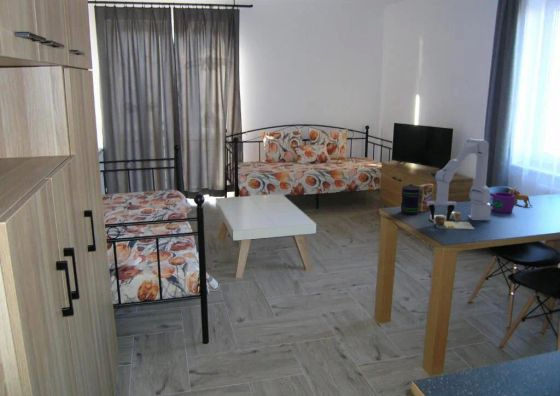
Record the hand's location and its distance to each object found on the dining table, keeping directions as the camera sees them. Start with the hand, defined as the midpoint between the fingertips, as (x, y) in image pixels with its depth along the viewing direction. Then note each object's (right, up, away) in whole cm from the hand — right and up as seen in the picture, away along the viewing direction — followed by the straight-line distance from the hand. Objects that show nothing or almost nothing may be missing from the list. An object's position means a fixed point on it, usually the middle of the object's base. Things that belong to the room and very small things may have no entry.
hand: (440, 219), depth 243 cm
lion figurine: (+60, +7, +39) cm, 72 cm away
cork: (+12, -1, +7) cm, 14 cm away
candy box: (0, +4, +28) cm, 28 cm away
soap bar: (+2, -1, +10) cm, 10 cm away
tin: (+10, 0, +13) cm, 16 cm away
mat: (+7, -3, 0) cm, 7 cm away
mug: (+42, +4, +27) cm, 50 cm away
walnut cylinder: (0, -3, +1) cm, 3 cm away
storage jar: (-10, +2, +22) cm, 25 cm away
